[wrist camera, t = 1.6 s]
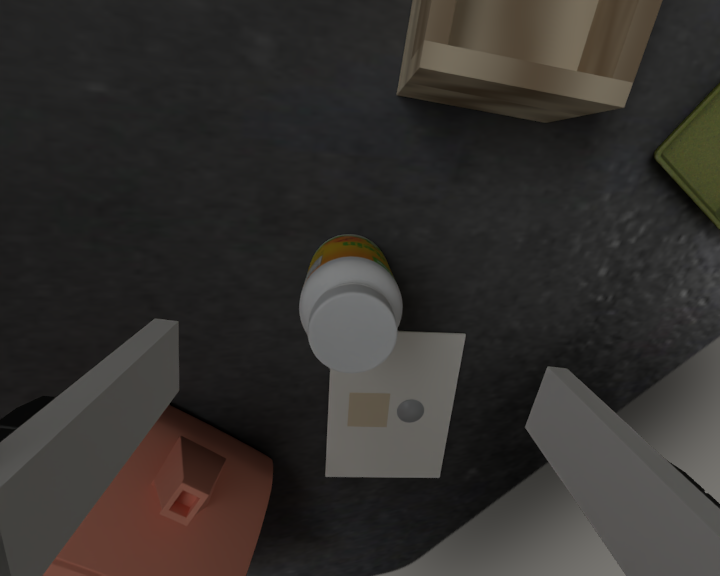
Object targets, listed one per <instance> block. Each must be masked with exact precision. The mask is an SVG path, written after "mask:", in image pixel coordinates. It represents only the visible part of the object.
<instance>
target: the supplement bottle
mask: <svg viewBox="0 0 720 576" xmlns="http://www.w3.org/2000/svg"><path fill="white" fill-rule="evenodd" d="M402 309H403V305H402V297H401V293H400V290H399V287H398V285H397V283H396V281H395V279H394V276H393V274H392V272H391V270H390V267H389V265H388V263H387V260H386V258H385V256H384V255H383V253H382V251H381V250H380V249H379V248H378V246H377V245H375V244H374V243H373V242H372V241H370V240H369V239H367V238H365V237H362V236H359V235H353V234H345V235H339V236H336V237H333V238H331V239H329V240H327V241H326V242H325V243H323V244H322V245H321V246H320V247H319V249H318V250H317V251H316V253H315V254H314V256H313V258H312V260H311V263H310V266H309V270H308V273H307V276H306V279H305V282H304V286H303V289H302V292H301V296H300V302H299V313H300V319H301V323H302V325H303V328H304V330H305V331H306V333H307V335H308V340H309V344H310V347H311V349H312V351H313V353H314V354H315V356H316V357H317V358H318V359H319V360H320V361H321V362H322V363H323V364H324V365H326V366H327V367H329V368H331V369H333V370H335V371H338V372H343V373H361V372H365V371H369V370H371V369H373V368H375V367H377V366H378V365H380V364H381V363H383V362H384V361H385V360H386V359H387V358H388V356H389V355H390V354H391V352H392V351H393V349H394V346H395V344H396V340H397V332H398V330H397V328H398V326H399V324H400V321H401V317H402Z"/></svg>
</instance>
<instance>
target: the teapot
mask: <svg viewBox="0 0 720 576" xmlns="http://www.w3.org/2000/svg"><path fill="white" fill-rule="evenodd" d="M272 480H273V461H272V459H271V458H269V457H268V456H267V455H265V454H263V453H261V452H260V451H258V450H256V449H254V448H252V447H251V446H249V445H247V444H245V443H243V442H241V441H239V440H237V439H236V438H234V437H232V436H230V435H228V434H226V433H224V432H222V431H220V430H219V429H217V428H215V427H213V426H211V425H209V424H207V423H205V422H203V421H201V420H199V419H197V418H195V417H193V416H191V415H189V414H187V413H185V412H183V411H181V410H179V409H177V408H175V407H173V406H171V405H168V407H167V408H166V409H165V411H164V412H163V413H162V415H161V416H160V417H159V419H158V420H157V421H156V423H155V424H154V425H153V427H152V428H151V429H150V431H149V432H148V434H147V435H146V436H145V438H144V439H143V440H142V442H141V443H140V444H139V446H138V447H137V448H136V450H135V451H134V452H133V454H132V455H131V457H130V458H129V459H128V461H127V462H126V463H125V465H124V466H123V467H122V469H121V470H120V471H119V473H118V474H117V475H116V477H115V478H114V479H113V481H112V482H111V484H110V485H109V486H108V488H107V489H106V490H105V492H104V493H103V494H102V496H101V497H100V498H99V500H98V501H97V502H96V504H95V505H94V507H93V508H92V509H91V511H90V512H89V513H88V515H87V516H86V517H85V519H84V520H83V521H82V523H81V524H80V525H79V527H78V528H77V529H76V531H75V532H74V534H73V535H72V536H71V538H70V539H69V540H68V542H67V543H66V544H65V546H64V547H63V548H62V550H61V551H60V552H59V554H58V555H57V557H56V558H55V559H54V561H53V562H52V563H51V565H50V566H49V567H48V569H47V570H46V571H45V573H44V574H43V575H42V576H246V574H247V571H248V568H249V565H250V562H251V559H252V556H253V553H254V550H255V547H256V544H257V540H258V537H259V534H260V531H261V527H262V524H263V520H264V517H265V513H266V509H267V505H268V501H269V497H270V493H271V488H272Z"/></svg>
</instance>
